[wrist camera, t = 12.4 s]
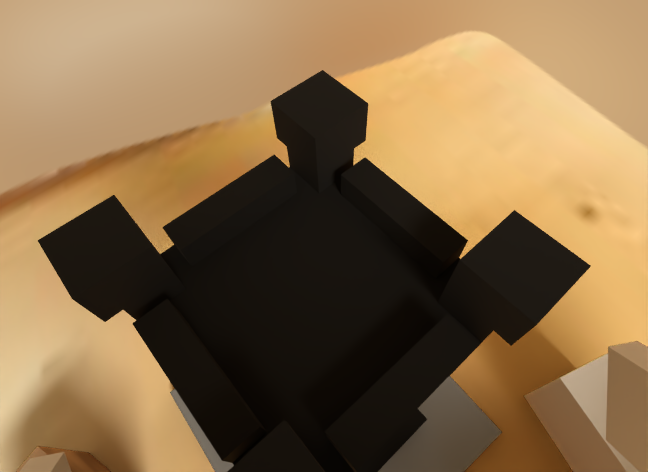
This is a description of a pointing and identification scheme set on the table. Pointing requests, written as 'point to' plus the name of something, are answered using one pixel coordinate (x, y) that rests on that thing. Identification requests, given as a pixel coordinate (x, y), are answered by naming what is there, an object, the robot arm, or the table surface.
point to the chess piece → (311, 295)
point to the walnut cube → (71, 459)
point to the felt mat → (425, 444)
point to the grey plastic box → (580, 418)
